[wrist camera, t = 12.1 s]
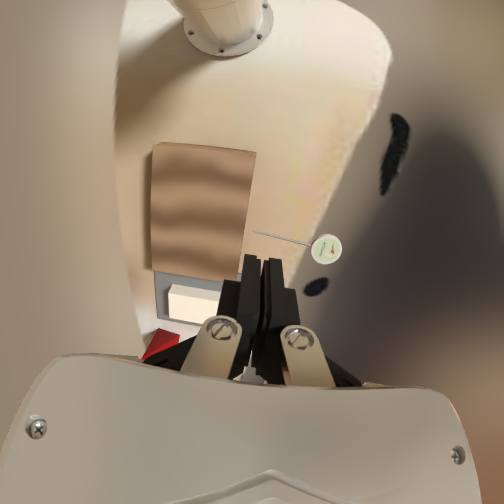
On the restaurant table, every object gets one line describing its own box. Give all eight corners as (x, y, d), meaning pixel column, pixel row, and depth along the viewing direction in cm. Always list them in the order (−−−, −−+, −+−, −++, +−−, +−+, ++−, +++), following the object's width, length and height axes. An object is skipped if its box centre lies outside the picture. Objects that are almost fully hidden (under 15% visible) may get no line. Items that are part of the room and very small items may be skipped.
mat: (154, 259, 46) (153, 260, 46) (243, 273, 47) (243, 274, 47) (158, 317, 53) (157, 318, 53) (234, 330, 54) (234, 331, 53)
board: (163, 142, 37) (153, 145, 33) (256, 152, 37) (255, 156, 34) (159, 257, 46) (152, 270, 43) (238, 270, 47) (236, 283, 43)
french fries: (152, 343, 57) (132, 395, 44) (155, 319, 53) (131, 374, 40) (189, 354, 58) (175, 409, 45) (195, 331, 54) (180, 390, 41)
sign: (257, 216, 42) (346, 240, 43) (257, 214, 42) (345, 238, 43) (249, 246, 44) (335, 267, 45) (249, 243, 45) (334, 264, 46)
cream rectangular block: (169, 317, 49) (173, 308, 51) (216, 326, 49) (218, 316, 51) (168, 293, 46) (172, 283, 48) (218, 301, 46) (220, 291, 49)
